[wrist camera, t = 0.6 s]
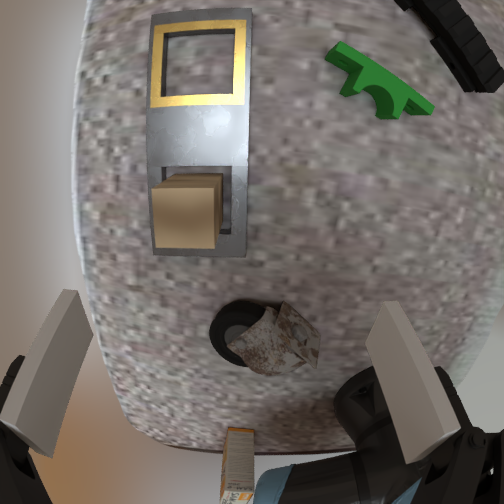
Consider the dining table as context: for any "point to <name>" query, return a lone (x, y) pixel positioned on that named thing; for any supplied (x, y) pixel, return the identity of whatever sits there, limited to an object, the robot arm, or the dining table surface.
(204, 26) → the rail plate
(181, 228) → the oak peg
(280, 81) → the dining table surface
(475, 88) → the rail mount
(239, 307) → the caster wheel
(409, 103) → the pipe clamp
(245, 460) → the supplement box
